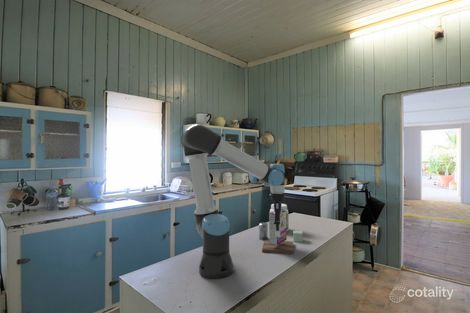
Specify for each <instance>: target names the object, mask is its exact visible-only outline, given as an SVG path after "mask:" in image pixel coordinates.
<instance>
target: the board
mask: <svg viewBox="0 0 470 313" xmlns="http://www.w3.org/2000/svg"><path fill="white" fill-rule="evenodd" d="M261 249H262V251H261V252H262V253H269V254H284V255H286V254H289V255H294V254H295V250H294V249H295V248H294V241H289V240H288V241H287V240H285V241H283V242H282V243H280V244H279V245H273V244H270V239H267V240H263V244H262V248H261Z"/></svg>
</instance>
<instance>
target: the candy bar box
mask: <svg viewBox="0 0 470 313" xmlns="http://www.w3.org/2000/svg"><path fill="white" fill-rule="evenodd" d="M268 221H269V222H268V225H269V226H268V228H269V240H270V244H273V245H279V244H280V243H282V242H283V241H287V236H288V235H287V233H288V231H287V232H286V210H281V212H280V237H275V224H274V223H275V212H274V211H273V212H271V213H270V212H268ZM276 222H279V221H276Z"/></svg>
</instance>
